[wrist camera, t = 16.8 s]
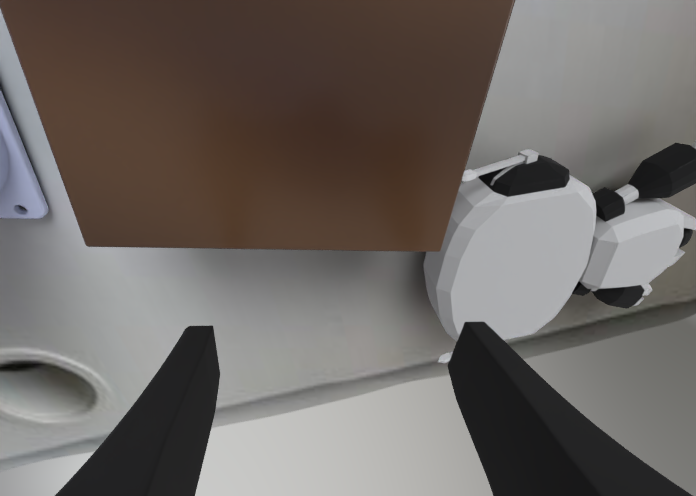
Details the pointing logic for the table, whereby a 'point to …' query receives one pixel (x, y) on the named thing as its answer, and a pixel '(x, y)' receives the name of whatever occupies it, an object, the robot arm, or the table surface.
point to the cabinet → (260, 116)
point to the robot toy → (554, 241)
